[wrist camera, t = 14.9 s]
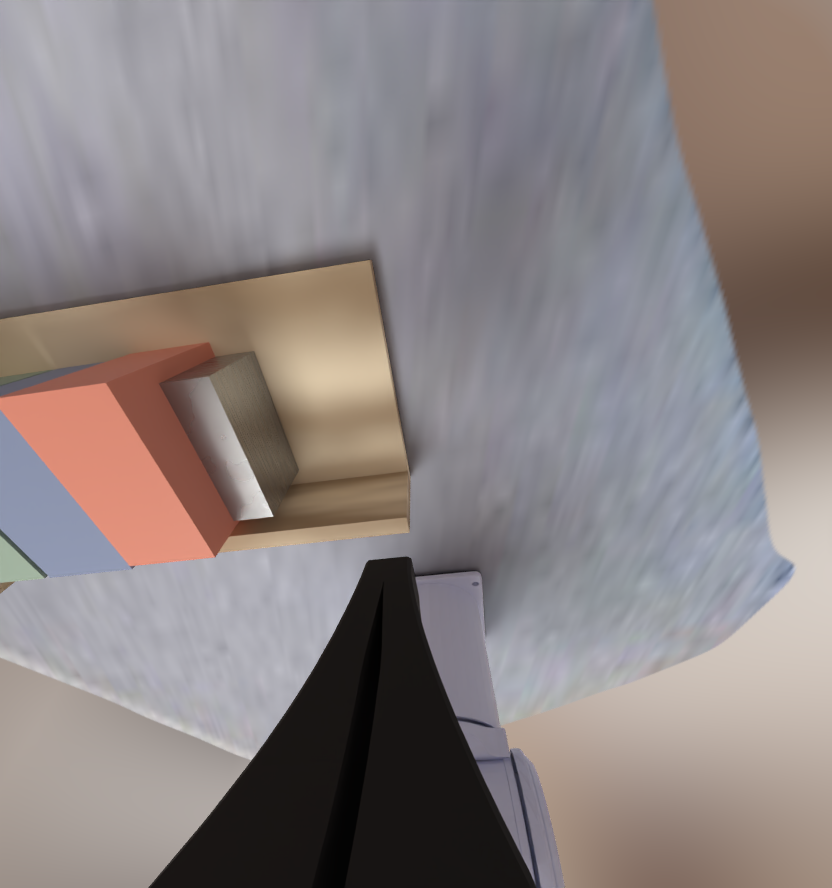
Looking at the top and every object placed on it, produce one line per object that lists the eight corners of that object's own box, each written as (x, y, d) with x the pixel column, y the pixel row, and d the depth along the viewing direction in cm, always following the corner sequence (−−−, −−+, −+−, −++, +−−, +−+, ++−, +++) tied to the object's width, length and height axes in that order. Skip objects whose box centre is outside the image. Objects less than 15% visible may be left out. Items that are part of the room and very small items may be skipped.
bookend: (299, 470, 19) (273, 516, 16) (266, 474, 19) (233, 521, 16) (254, 351, 16) (208, 376, 12) (214, 356, 16) (158, 383, 12)
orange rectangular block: (268, 477, 20) (215, 557, 14) (205, 485, 20) (129, 566, 15) (209, 341, 16) (105, 382, 10) (130, 353, 16) (-9, 399, 11)
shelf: (410, 477, 20) (409, 565, 15) (86, 514, 22) (-36, 609, 16) (371, 260, 15) (343, 259, 9) (-67, 330, 16) (-349, 370, 10)
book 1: (206, 487, 20) (132, 569, 15) (144, 495, 20) (50, 577, 15) (133, 357, 16) (-5, 404, 11) (57, 368, 16) (-113, 419, 11)
